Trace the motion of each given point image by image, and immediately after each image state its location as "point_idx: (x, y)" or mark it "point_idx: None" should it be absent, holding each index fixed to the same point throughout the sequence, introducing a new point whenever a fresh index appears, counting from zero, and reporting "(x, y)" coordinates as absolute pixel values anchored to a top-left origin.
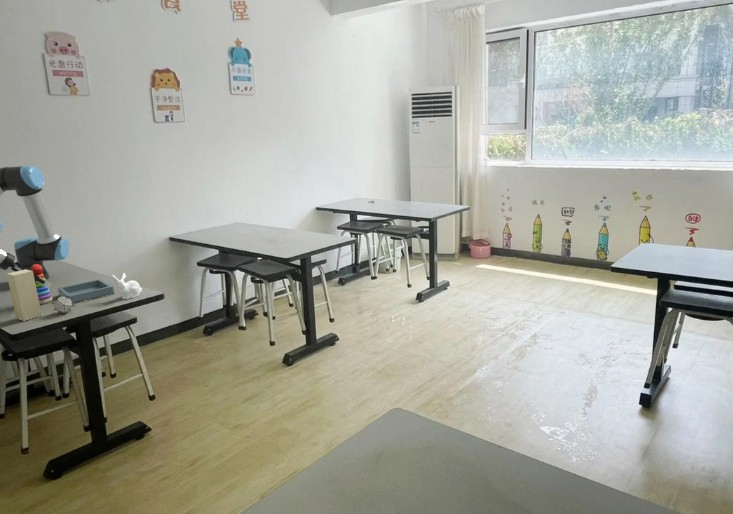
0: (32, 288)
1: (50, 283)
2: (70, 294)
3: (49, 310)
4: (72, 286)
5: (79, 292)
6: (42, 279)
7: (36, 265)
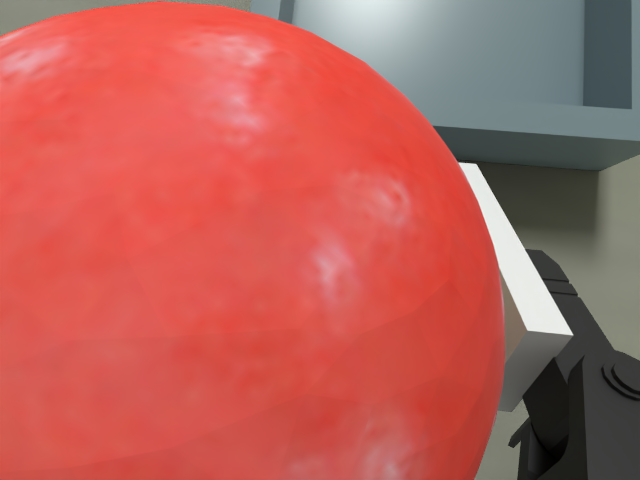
0: None
1: (479, 183)
2: (601, 107)
3: (622, 335)
4: (283, 2)
5: (357, 17)
6: (527, 280)
7: (373, 321)
